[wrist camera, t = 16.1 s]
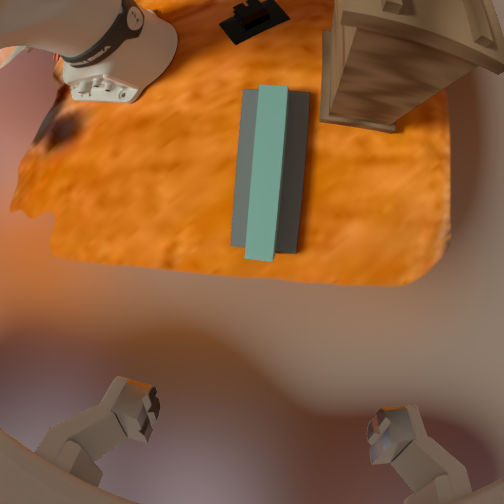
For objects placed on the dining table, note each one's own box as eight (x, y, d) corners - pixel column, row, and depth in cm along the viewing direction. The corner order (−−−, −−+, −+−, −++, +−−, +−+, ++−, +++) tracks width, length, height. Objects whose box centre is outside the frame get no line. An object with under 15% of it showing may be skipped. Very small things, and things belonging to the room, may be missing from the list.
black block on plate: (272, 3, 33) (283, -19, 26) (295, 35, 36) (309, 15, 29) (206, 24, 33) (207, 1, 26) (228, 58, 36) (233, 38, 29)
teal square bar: (249, 252, 39) (244, 258, 36) (263, 93, 34) (259, 84, 31) (275, 255, 39) (272, 261, 36) (289, 94, 34) (287, 86, 30)
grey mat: (231, 244, 40) (230, 245, 40) (244, 90, 35) (243, 89, 34) (296, 252, 39) (295, 253, 38) (309, 93, 34) (310, 92, 33)
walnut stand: (319, 122, 34) (344, -1, 8) (322, 36, 31) (328, -111, 5) (391, 133, 33) (520, 63, 6) (389, 47, 29) (460, -73, 3)
